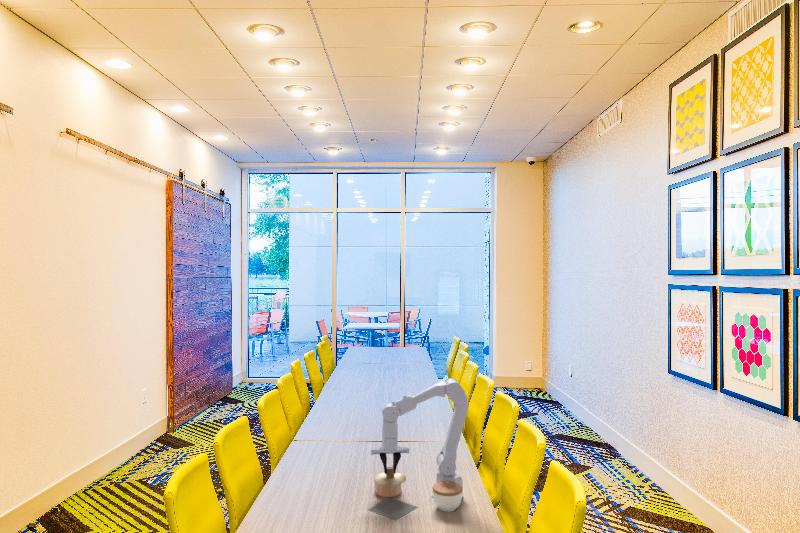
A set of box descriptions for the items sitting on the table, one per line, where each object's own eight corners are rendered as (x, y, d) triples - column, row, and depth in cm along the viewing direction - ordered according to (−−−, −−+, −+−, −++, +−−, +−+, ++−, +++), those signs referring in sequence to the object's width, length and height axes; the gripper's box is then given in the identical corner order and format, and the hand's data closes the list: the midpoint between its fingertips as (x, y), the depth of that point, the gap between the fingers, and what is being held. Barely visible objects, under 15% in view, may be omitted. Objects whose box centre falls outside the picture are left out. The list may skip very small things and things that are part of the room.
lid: (403, 473, 215) (403, 462, 216) (408, 484, 204) (408, 472, 204) (372, 475, 214) (372, 463, 214) (375, 485, 202) (375, 473, 202)
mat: (418, 507, 200) (418, 507, 200) (395, 520, 190) (395, 519, 190) (390, 498, 208) (390, 497, 208) (367, 510, 198) (367, 509, 198)
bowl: (406, 491, 216) (406, 479, 216) (390, 499, 208) (390, 487, 208) (386, 484, 222) (386, 473, 222) (369, 492, 214) (370, 481, 214)
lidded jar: (460, 501, 206) (460, 476, 205) (464, 514, 195) (464, 488, 195) (431, 501, 205) (431, 476, 205) (434, 515, 195) (434, 488, 194)
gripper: (407, 432, 214) (407, 468, 214) (369, 434, 212) (369, 469, 212) (410, 438, 207) (410, 474, 207) (371, 439, 205) (371, 476, 205)
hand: (389, 472), depth 209 cm, fingers closed on lid, 3 cm apart
